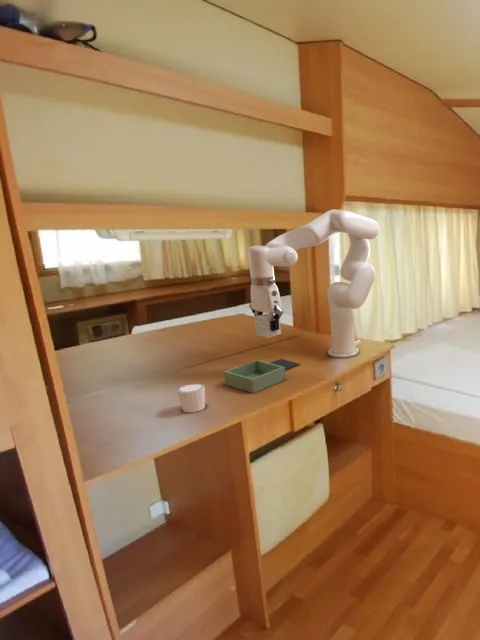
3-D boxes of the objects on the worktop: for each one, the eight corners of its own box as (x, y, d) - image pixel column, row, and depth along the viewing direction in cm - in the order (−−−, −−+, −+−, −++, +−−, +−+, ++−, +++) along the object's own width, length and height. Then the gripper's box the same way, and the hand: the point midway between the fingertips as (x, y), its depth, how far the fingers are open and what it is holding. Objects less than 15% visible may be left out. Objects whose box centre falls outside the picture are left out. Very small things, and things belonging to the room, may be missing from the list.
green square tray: (258, 372, 162) (257, 359, 160) (285, 379, 157) (284, 367, 156) (224, 384, 149) (223, 371, 148) (253, 393, 145) (252, 379, 144)
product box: (255, 335, 157) (253, 316, 155) (270, 331, 162) (268, 312, 160) (267, 338, 155) (265, 319, 152) (281, 334, 160) (279, 315, 158)
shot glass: (201, 413, 130) (198, 392, 128) (176, 413, 128) (172, 392, 126) (211, 403, 136) (208, 383, 134) (186, 403, 135) (183, 383, 133)
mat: (280, 359, 175) (280, 359, 174) (299, 364, 171) (299, 363, 171) (259, 367, 166) (259, 366, 165) (278, 372, 162) (278, 371, 162)
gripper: (290, 282, 153) (294, 329, 158) (254, 276, 158) (259, 322, 164) (272, 286, 146) (277, 335, 152) (235, 279, 151) (242, 327, 157)
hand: (268, 328), depth 158 cm, fingers closed on product box, 6 cm apart
